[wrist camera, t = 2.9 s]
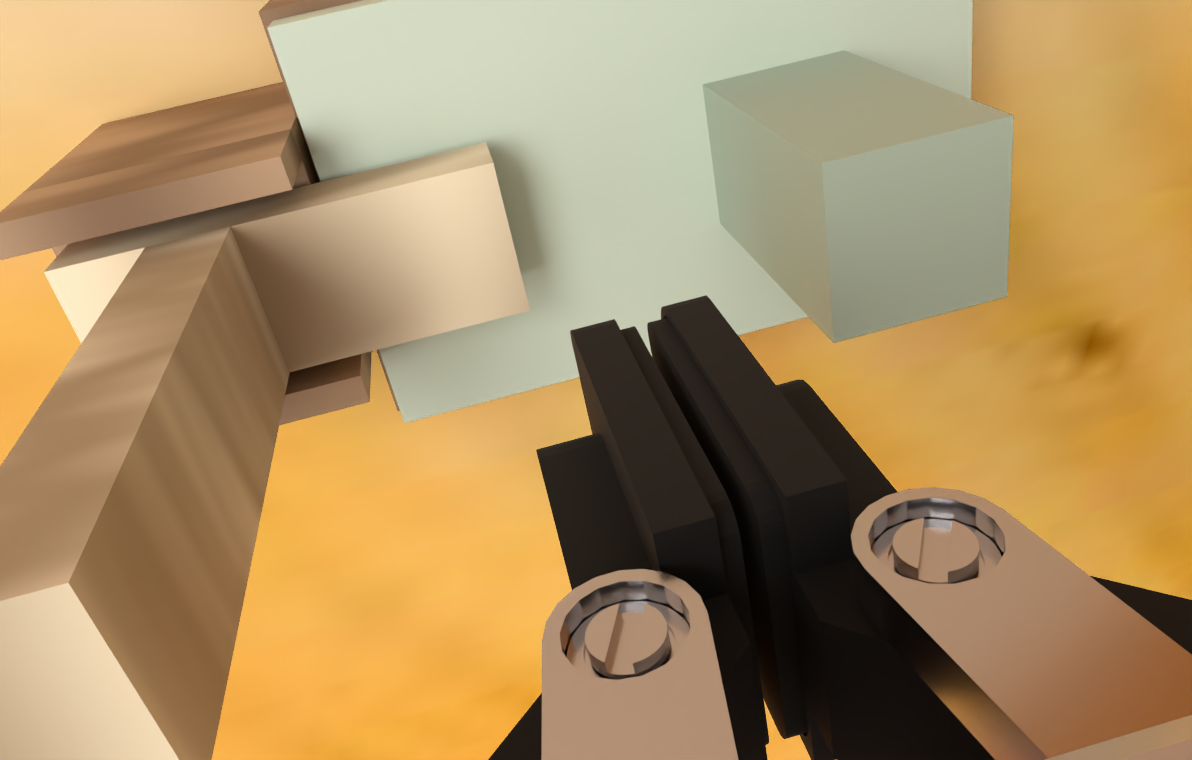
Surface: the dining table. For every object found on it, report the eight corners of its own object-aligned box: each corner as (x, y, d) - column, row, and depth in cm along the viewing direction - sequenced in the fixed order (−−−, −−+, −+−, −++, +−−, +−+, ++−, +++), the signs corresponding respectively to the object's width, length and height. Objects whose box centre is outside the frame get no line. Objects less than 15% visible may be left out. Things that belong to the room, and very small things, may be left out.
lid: (947, -133, 19) (1213, -138, 13) (947, 259, 23) (1146, 396, 17) (272, 20, 18) (212, 95, 12) (403, 401, 22) (409, 601, 16)
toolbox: (858, -143, 23) (1048, -150, 16) (873, 209, 27) (1026, 314, 21) (62, 36, 21) (-83, 107, 15) (217, 376, 26) (158, 547, 19)
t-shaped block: (485, 141, 18) (593, 441, 9) (520, 281, 20) (645, 671, 10) (69, 242, 18) (-320, 687, 8) (137, 379, 19) (-120, 892, 9)
